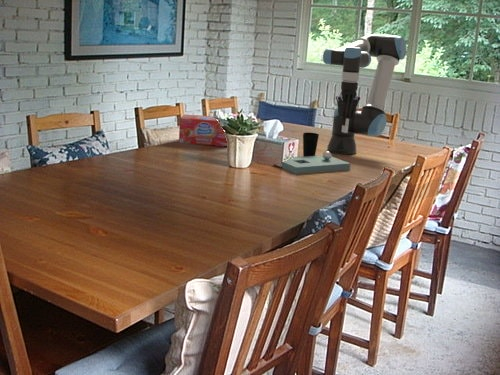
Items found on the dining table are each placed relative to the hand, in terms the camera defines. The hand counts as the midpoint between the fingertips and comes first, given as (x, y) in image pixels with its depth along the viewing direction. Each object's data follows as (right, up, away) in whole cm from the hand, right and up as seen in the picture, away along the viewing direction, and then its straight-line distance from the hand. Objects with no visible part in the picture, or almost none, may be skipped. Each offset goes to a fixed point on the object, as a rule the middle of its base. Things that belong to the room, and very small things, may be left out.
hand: (344, 132), depth 300 cm
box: (-67, -3, +36) cm, 76 cm away
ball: (-8, -11, -1) cm, 14 cm away
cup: (-15, -12, +15) cm, 24 cm away
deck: (-16, -17, -4) cm, 23 cm away
